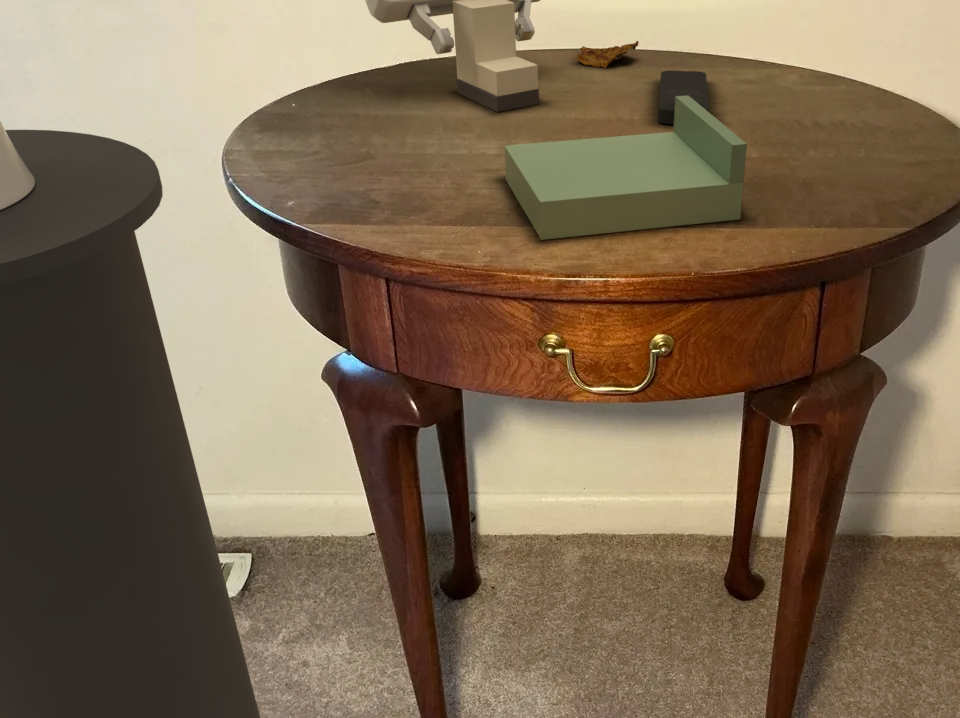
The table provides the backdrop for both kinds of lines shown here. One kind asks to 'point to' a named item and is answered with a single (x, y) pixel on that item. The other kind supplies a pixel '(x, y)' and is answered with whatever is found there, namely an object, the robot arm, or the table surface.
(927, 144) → the table surface
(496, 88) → the beige stepped block
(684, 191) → the green l-shaped bracket
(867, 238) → the table surface
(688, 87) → the remote control
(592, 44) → the table surface
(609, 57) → the leaf
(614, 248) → the table surface
